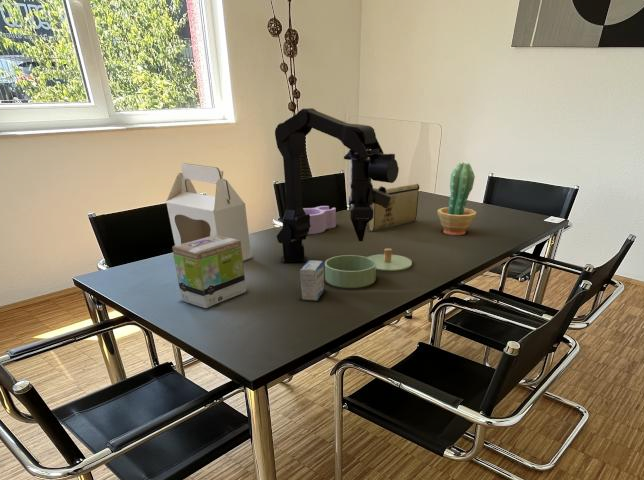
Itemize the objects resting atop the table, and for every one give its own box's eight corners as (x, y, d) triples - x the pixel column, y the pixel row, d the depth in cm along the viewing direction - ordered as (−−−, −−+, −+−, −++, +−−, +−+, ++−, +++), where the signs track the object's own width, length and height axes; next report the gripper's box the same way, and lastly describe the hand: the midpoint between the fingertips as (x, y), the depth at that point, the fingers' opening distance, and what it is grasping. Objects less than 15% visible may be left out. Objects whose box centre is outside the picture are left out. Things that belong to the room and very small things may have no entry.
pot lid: (365, 273, 147) (365, 257, 144) (361, 257, 160) (361, 242, 157) (415, 272, 148) (417, 256, 145) (407, 257, 161) (408, 242, 158)
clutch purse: (407, 218, 207) (409, 181, 199) (419, 221, 203) (422, 183, 194) (357, 229, 190) (358, 189, 182) (369, 233, 186) (370, 192, 178)
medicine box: (317, 301, 128) (316, 270, 123) (301, 300, 128) (299, 268, 123) (324, 290, 134) (323, 260, 129) (309, 289, 135) (308, 259, 130)
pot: (325, 289, 135) (325, 271, 132) (324, 271, 147) (324, 255, 145) (377, 289, 136) (378, 271, 133) (372, 271, 148) (373, 254, 146)
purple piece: (322, 221, 200) (321, 204, 196) (342, 227, 193) (342, 209, 189) (285, 230, 188) (284, 212, 184) (306, 236, 181) (305, 217, 177)
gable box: (252, 258, 158) (241, 166, 142) (223, 268, 149) (208, 171, 133) (206, 247, 168) (191, 159, 152) (176, 256, 158) (157, 164, 143)
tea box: (207, 309, 122) (197, 252, 114) (181, 301, 126) (169, 246, 118) (247, 292, 133) (241, 238, 124) (222, 285, 137) (214, 233, 129)
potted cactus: (479, 230, 191) (490, 162, 177) (465, 239, 180) (475, 167, 166) (444, 225, 198) (451, 159, 184) (428, 233, 187) (435, 163, 173)
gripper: (393, 185, 121) (390, 246, 130) (386, 173, 137) (384, 228, 146) (350, 184, 121) (350, 246, 130) (348, 173, 136) (348, 228, 145)
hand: (359, 236), depth 138 cm, fingers open, 9 cm apart
